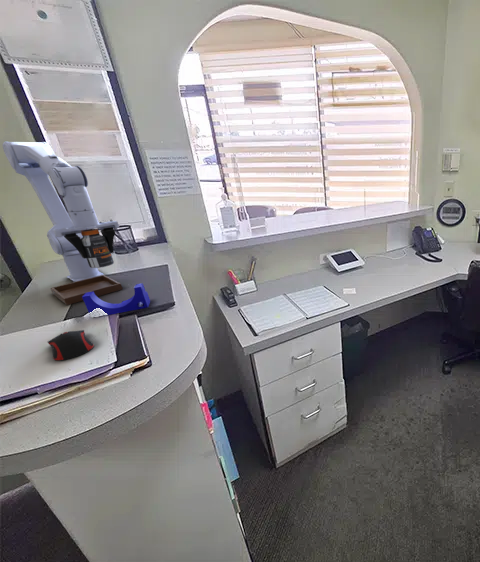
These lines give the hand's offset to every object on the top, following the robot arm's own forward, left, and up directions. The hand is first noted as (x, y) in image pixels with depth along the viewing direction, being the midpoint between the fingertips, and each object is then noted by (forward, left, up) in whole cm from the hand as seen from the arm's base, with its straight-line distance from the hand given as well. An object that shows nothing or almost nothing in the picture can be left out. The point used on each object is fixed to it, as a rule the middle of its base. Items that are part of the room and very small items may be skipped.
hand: (98, 255), depth 95 cm
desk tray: (0, -5, -10) cm, 12 cm away
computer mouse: (+38, -17, -10) cm, 43 cm away
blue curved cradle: (+25, -4, -10) cm, 27 cm away
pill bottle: (0, 0, -4) cm, 4 cm away
